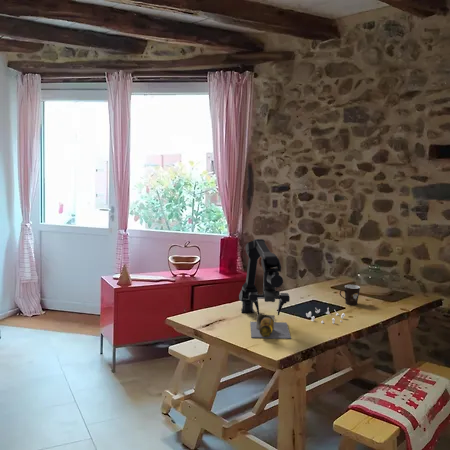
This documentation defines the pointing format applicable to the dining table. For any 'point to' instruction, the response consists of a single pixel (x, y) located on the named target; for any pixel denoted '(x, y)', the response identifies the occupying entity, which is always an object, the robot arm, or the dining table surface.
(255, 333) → the rubber mat
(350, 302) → the coffee mug
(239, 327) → the dining table surface
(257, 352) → the dining table surface
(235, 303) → the dining table surface
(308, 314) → the game piece set
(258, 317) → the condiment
